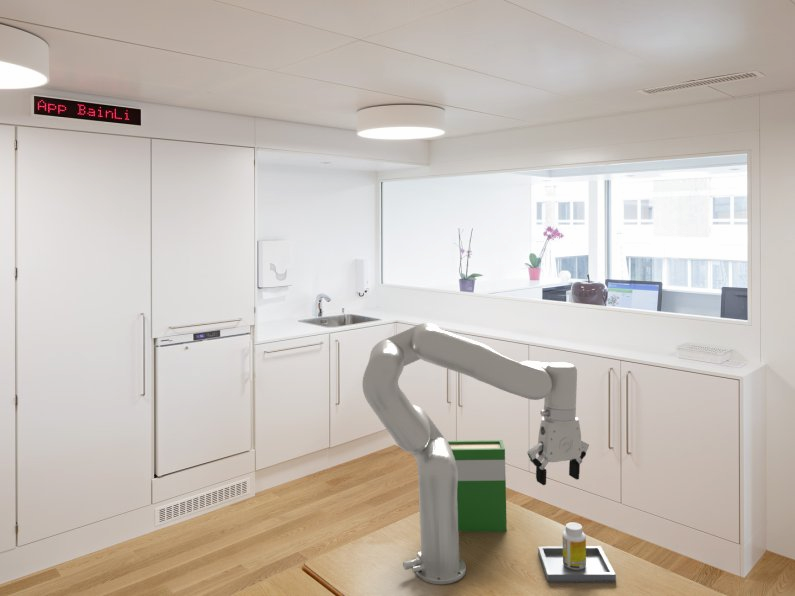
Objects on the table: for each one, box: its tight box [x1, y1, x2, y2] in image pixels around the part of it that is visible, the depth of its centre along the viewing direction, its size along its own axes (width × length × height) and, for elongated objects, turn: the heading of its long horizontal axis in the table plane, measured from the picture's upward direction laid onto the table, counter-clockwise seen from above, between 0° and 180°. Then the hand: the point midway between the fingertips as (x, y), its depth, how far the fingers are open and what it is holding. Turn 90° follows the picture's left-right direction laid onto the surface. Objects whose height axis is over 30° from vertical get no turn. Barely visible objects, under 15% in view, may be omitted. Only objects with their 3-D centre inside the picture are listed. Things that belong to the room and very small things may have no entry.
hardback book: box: [447, 439, 508, 533], centre depth 170 cm, size 18×7×24 cm, turn 86°
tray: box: [537, 545, 617, 583], centre depth 148 cm, size 16×13×2 cm
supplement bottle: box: [562, 521, 587, 570], centre depth 147 cm, size 6×6×10 cm
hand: (557, 480), depth 147 cm, fingers open, 9 cm apart
